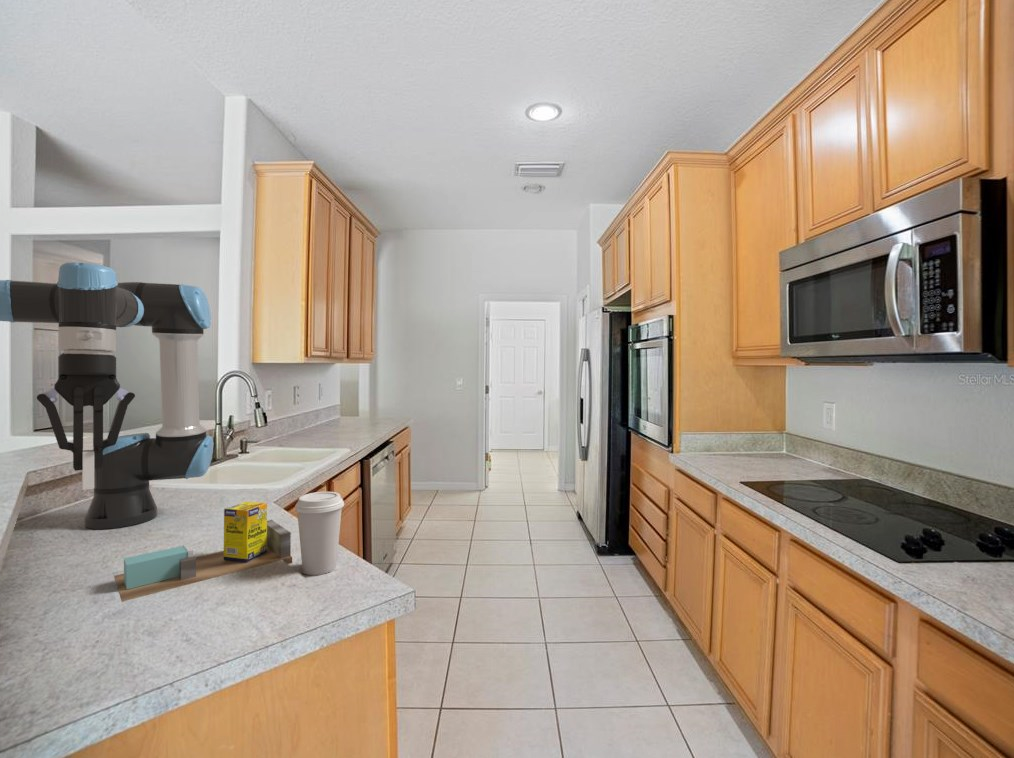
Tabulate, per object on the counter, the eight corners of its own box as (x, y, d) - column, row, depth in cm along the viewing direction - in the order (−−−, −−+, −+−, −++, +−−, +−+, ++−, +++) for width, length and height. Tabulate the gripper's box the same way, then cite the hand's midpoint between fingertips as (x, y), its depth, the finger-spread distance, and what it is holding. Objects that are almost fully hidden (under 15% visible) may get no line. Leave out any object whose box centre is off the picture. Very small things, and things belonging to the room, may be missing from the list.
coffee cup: (295, 582, 89) (295, 505, 89) (293, 564, 98) (293, 493, 98) (347, 572, 94) (347, 499, 94) (340, 556, 102) (340, 488, 102)
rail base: (114, 581, 89) (114, 549, 89) (270, 545, 109) (270, 518, 109) (122, 608, 79) (122, 572, 79) (292, 562, 99) (292, 533, 99)
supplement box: (247, 563, 95) (247, 510, 95) (222, 560, 96) (222, 508, 96) (268, 552, 101) (268, 502, 101) (244, 550, 102) (244, 500, 102)
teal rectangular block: (123, 581, 86) (123, 557, 86) (187, 566, 93) (187, 544, 93) (126, 590, 83) (126, 564, 83) (192, 573, 90) (192, 550, 90)
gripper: (34, 351, 74) (34, 498, 74) (138, 354, 83) (138, 485, 83) (35, 352, 79) (35, 490, 79) (133, 355, 88) (133, 478, 88)
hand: (88, 487), depth 81 cm, fingers closed
